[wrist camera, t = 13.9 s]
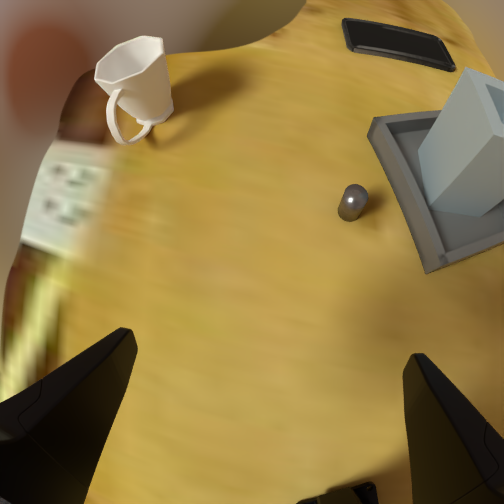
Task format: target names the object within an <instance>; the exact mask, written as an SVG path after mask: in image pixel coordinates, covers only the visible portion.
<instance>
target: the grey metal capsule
mask: <svg viewBox="0 0 504 504" xmlns="http://www.w3.org/2000/svg"><path fill="white" fill-rule="evenodd" d="M367 200H368V193H367V191H366V189H365V188H364V187H362V186H360V185H358V184H352V185H349V186H348V187H347V188H346V189H345V192H344V194H343V197H342V199H341V202H340V204H339V207H338V214H339V216H340V217H341V218H342V219H343V220H344V221H347V222H352V221H354V220H356V219H357V218H358V216H359V214H360V213H361V211H362V209H363V208H364V206H365V204H366V202H367Z"/></svg>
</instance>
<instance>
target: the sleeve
mask: <svg viewBox="0 0 504 504" xmlns="http://www.w3.org/2000/svg"><path fill="white" fill-rule="evenodd" d="M418 154H419V160H420V166H421V172H422V179H423V185H424V193H425V201H426V205H427V207H428V209H429V210H436V211H443V212H450V213H456V214H463V215H469V216H475V217H481V216H482V215H484V214H485V213H486V212H488V211H489V210H490V209H492V208H493V207H494V206H495V205H497V204H498V203H499V202H501V201H502V200H503V199H504V82H503V81H500V80H498V79H496V78H493V77H491V76H489V75H486V74H483V73H481V72H478V71H475V70H473V69H470V68H467V67H465V69H464V71H463V73H462V75H461V77H460V78H459V80H458V82H457V84H456V86H455V88H454V89H453V91H452V93H451V95H450V97H449V98H448V100H447V102H446V104H445V105H444V107H443V109H442V111H441V112H440V114H439V116H438V118H437V119H436V121H435V123H434V124H433V126H432V128H431V129H430V131H429V133H428V134H427V136H426V138H425V139H424V141H423V143H422V144H421V146H420V147H419V149H418Z"/></svg>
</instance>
